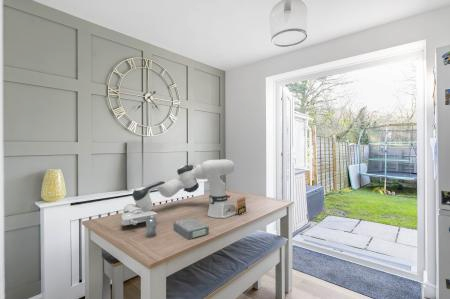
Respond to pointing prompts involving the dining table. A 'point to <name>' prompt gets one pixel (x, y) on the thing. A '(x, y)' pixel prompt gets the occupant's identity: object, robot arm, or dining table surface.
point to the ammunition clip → (240, 206)
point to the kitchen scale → (191, 228)
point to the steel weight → (151, 227)
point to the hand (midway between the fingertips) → (144, 221)
